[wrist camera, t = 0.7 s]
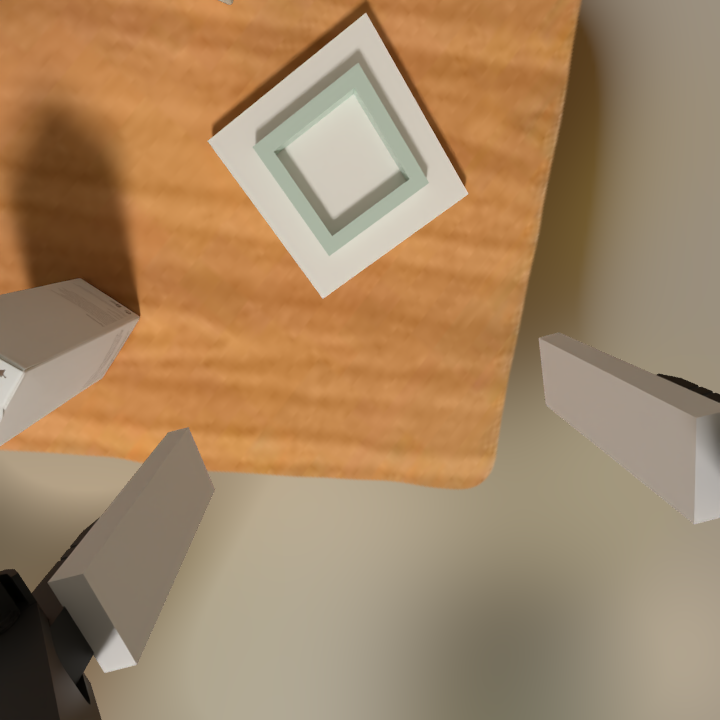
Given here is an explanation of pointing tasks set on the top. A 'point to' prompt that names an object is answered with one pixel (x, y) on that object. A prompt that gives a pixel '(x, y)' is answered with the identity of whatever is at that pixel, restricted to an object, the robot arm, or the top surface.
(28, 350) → the skincare box
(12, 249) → the top surface
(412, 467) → the top surface
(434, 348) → the top surface
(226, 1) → the skincare box
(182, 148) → the top surface
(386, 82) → the collar plate
